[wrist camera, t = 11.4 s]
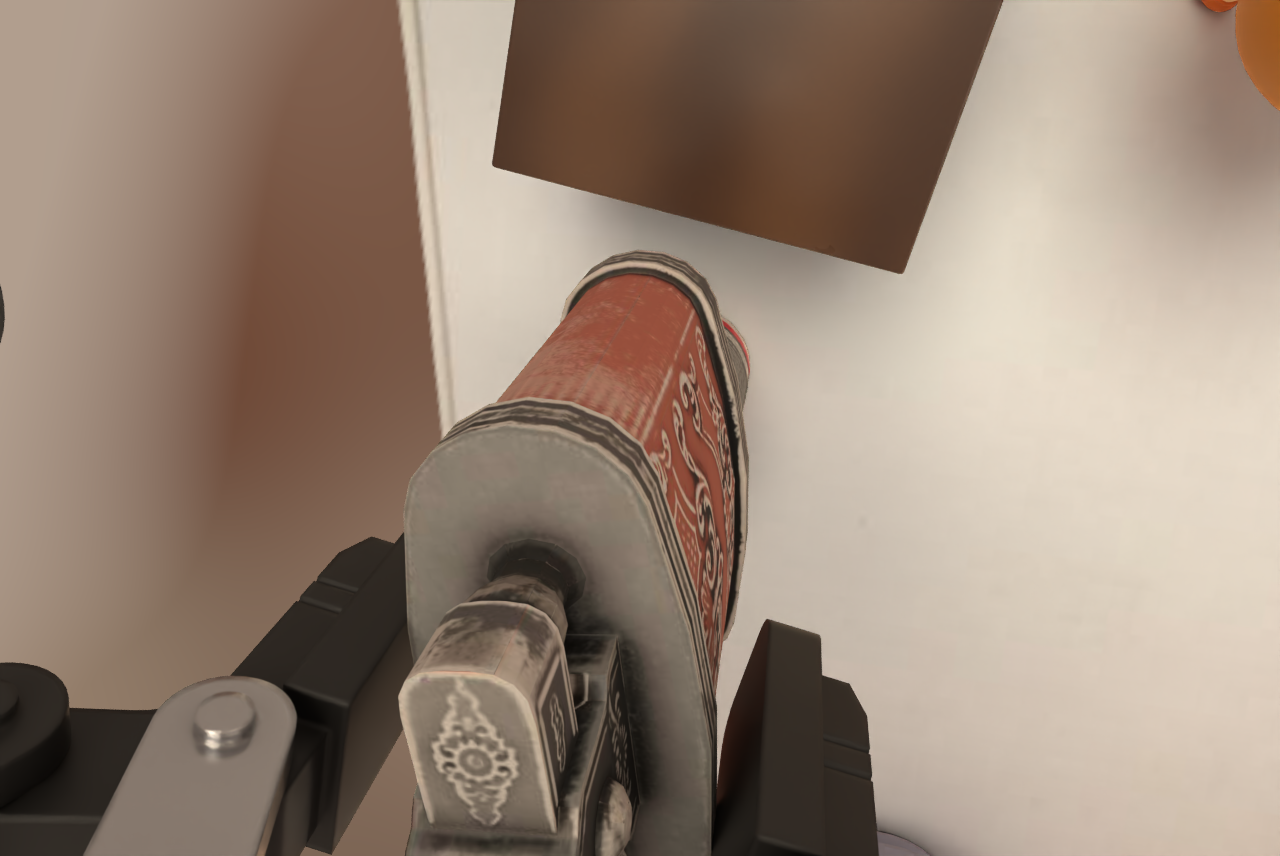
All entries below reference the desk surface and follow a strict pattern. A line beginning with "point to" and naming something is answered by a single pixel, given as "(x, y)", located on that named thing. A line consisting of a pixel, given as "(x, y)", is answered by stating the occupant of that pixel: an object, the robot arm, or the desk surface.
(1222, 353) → the desk surface
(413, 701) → the lighter
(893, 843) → the bowl
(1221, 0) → the toy figure
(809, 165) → the block
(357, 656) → the robot arm
